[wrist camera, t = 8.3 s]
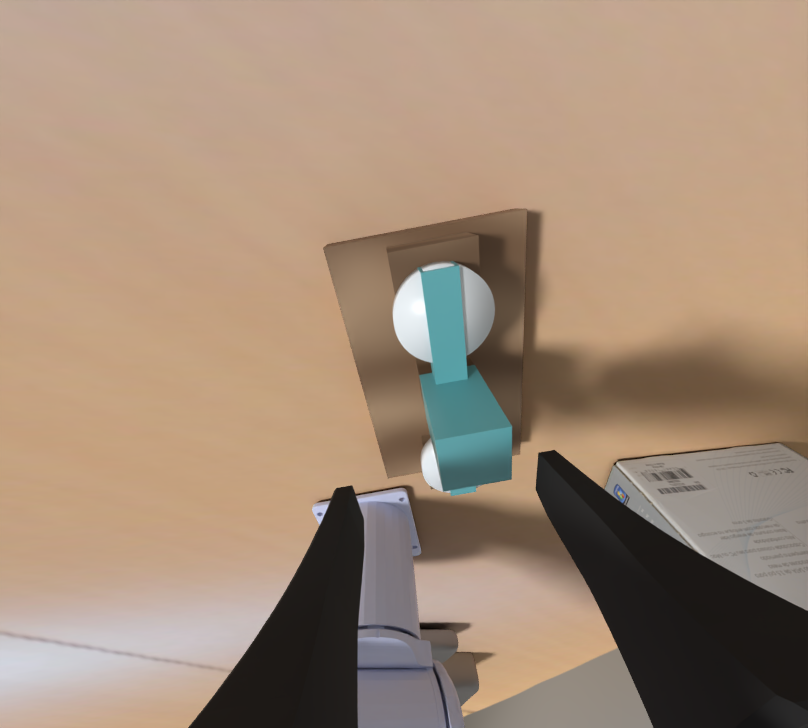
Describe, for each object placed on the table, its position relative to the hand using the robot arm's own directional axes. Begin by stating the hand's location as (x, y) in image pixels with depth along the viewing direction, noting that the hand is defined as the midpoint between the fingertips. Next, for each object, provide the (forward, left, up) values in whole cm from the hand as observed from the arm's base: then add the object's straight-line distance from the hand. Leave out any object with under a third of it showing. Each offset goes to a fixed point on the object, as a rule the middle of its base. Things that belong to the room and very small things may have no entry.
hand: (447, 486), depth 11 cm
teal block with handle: (0, -1, -6) cm, 6 cm away
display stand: (0, -1, -9) cm, 9 cm away
